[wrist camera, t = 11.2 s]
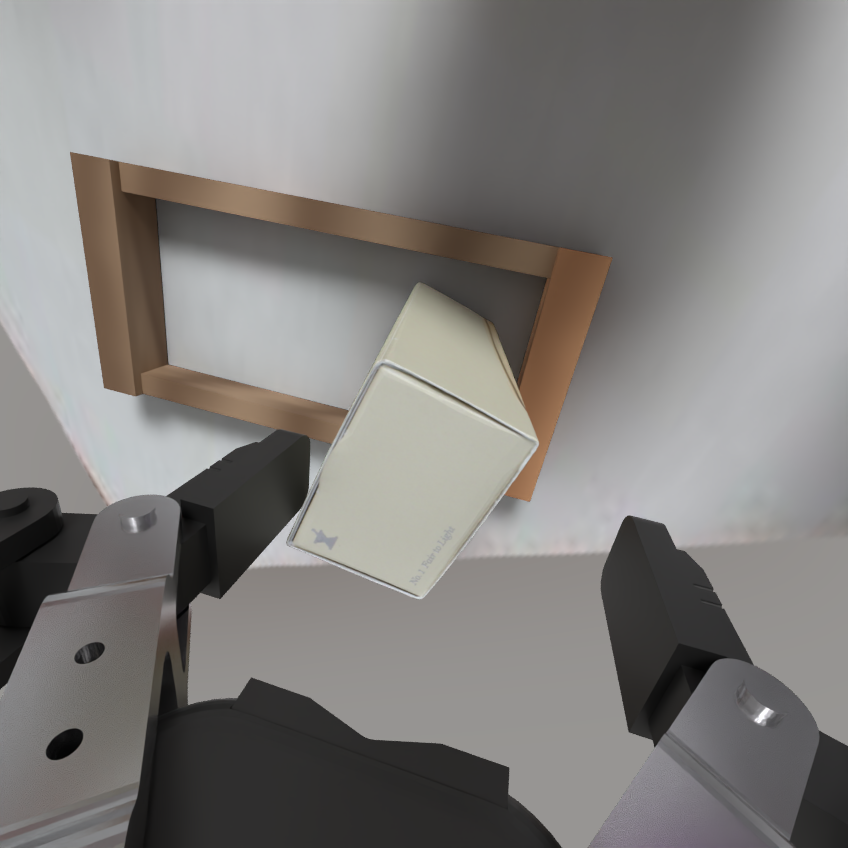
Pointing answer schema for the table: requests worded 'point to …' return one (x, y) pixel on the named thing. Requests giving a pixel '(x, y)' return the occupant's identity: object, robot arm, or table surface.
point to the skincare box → (419, 450)
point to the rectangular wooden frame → (139, 246)
